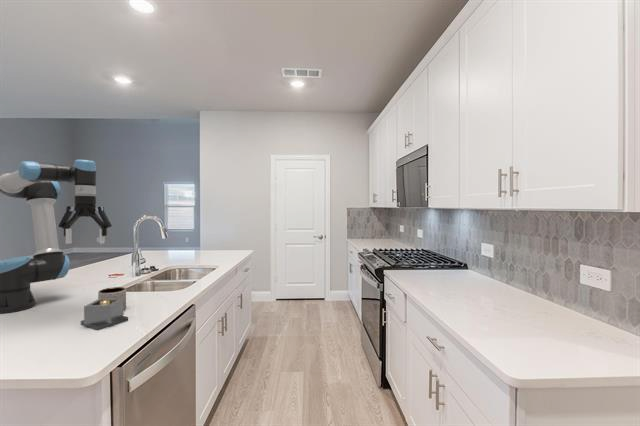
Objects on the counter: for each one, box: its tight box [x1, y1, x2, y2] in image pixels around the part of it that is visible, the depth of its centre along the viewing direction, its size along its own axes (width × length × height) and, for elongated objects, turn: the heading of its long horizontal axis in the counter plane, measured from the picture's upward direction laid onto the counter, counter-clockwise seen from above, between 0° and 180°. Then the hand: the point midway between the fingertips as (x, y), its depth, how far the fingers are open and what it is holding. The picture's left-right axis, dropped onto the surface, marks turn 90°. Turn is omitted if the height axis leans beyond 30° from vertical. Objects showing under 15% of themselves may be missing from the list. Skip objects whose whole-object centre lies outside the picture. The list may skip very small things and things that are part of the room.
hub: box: [80, 300, 129, 331], centre depth 129 cm, size 12×12×9 cm
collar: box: [83, 298, 125, 324], centre depth 129 cm, size 10×10×7 cm
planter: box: [97, 286, 127, 310], centre depth 144 cm, size 11×11×10 cm
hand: (85, 243), depth 137 cm, fingers open, 13 cm apart
